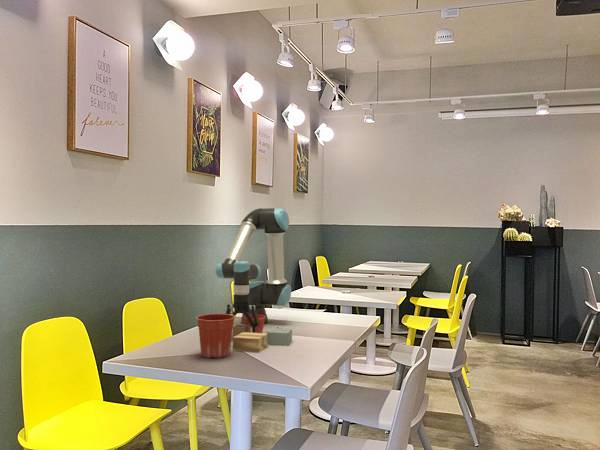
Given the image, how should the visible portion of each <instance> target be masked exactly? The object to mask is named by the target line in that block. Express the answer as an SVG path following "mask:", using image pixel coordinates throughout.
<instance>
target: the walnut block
mask: <svg viewBox="0 0 600 450" xmlns="http://www.w3.org/2000/svg"><path fill="white" fill-rule="evenodd" d="M242 332H249V325H244V324H239V323H238V324H235V325H233V328H232V338H233V337H235V336H237V335H238V334H240V333H242Z"/></svg>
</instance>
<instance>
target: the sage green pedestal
mask: <svg viewBox="0 0 600 450" xmlns="http://www.w3.org/2000/svg"><path fill="white" fill-rule="evenodd" d="M266 334H268V346H284V347H289V345H290V344H291V343H292V341H293V328H285V327H284V328H281V327H271V328H270V329H268V330H267V331H266Z"/></svg>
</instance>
